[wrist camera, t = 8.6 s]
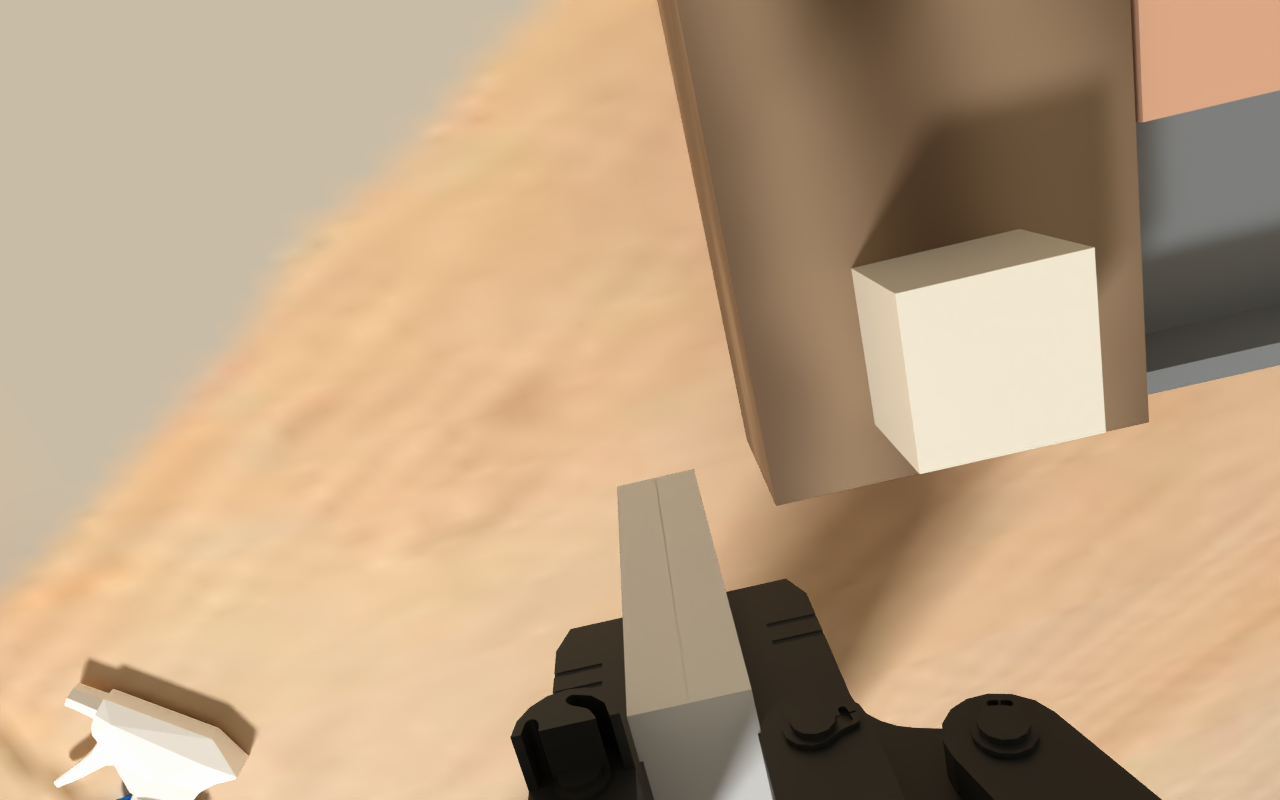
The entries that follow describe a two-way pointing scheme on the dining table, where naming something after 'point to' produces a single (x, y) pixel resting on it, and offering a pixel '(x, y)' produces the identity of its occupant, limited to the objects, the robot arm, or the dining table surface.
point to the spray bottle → (152, 747)
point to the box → (1210, 241)
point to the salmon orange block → (1202, 53)
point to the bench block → (895, 187)
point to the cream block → (983, 347)
